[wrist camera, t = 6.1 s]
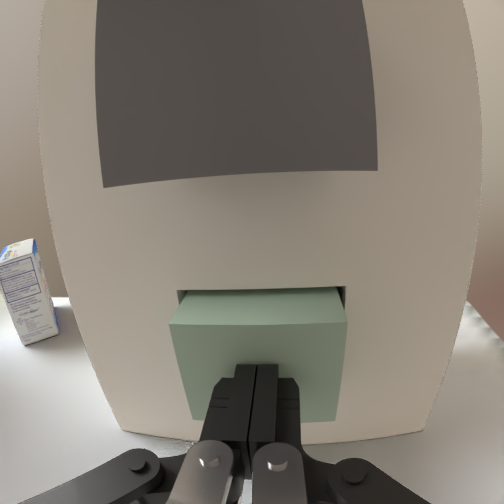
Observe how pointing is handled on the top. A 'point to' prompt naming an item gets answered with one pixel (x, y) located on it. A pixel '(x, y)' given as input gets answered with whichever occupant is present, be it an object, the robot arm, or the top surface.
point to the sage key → (262, 342)
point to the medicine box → (27, 292)
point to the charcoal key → (232, 88)
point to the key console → (278, 229)
